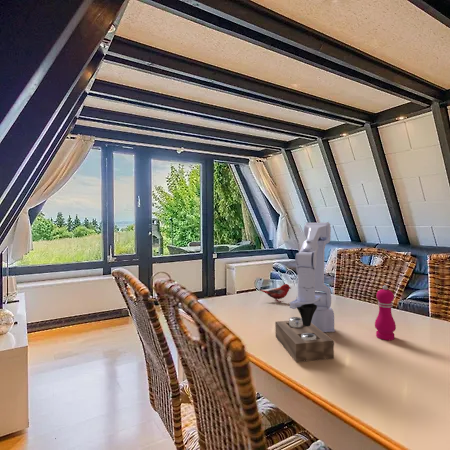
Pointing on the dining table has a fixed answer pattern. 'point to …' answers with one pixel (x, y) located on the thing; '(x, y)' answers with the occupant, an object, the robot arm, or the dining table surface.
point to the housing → (304, 342)
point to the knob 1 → (295, 322)
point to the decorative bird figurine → (278, 292)
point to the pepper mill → (385, 315)
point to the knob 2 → (308, 336)
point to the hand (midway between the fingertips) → (306, 325)
